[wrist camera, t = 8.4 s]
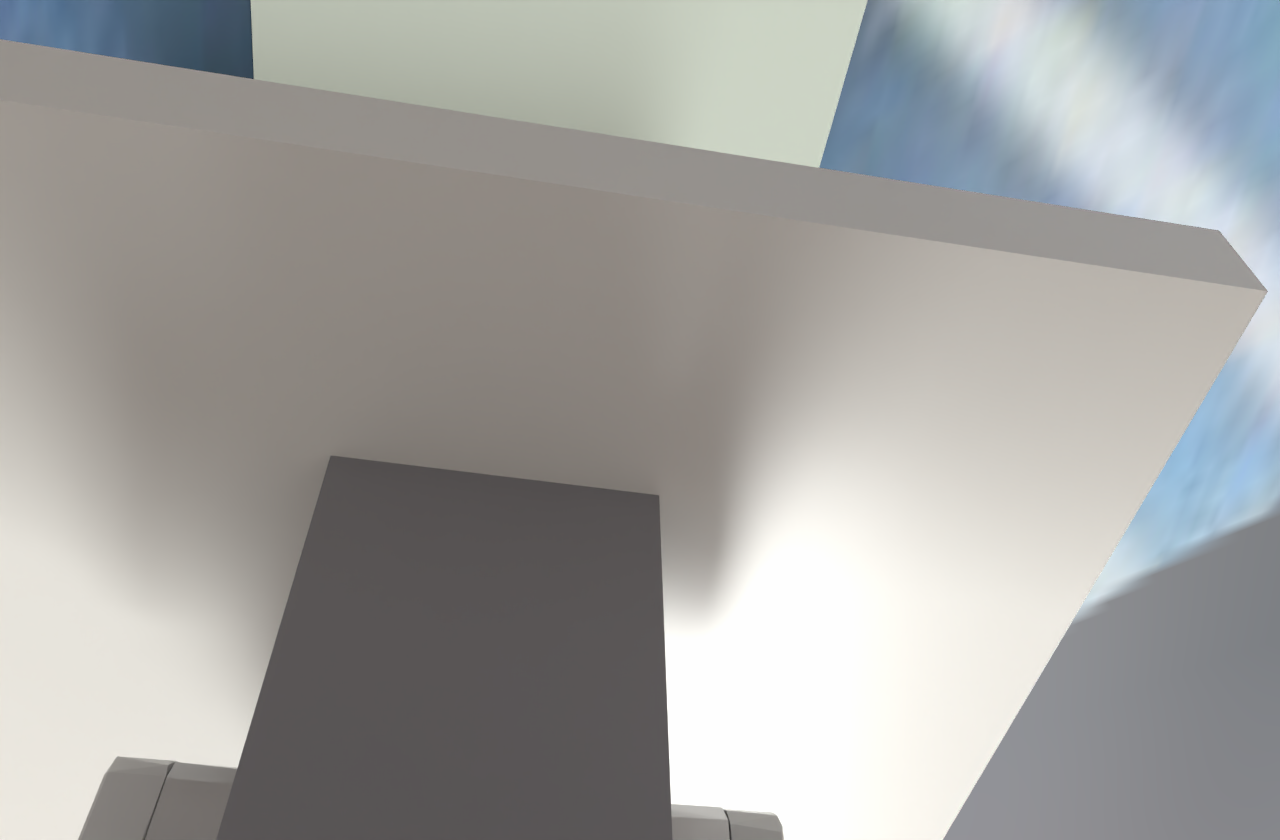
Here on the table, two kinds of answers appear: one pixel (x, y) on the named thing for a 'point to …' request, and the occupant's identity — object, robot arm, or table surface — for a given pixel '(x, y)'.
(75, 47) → the table surface
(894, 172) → the table surface
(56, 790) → the lid
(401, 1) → the mat
